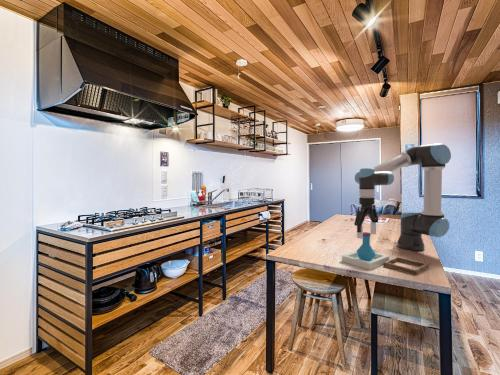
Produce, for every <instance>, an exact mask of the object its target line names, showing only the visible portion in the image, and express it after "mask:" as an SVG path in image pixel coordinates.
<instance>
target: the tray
mask: <svg viewBox="0 0 500 375" xmlns="http://www.w3.org/2000/svg"><path fill="white" fill-rule="evenodd" d="M390 259H391V258H390V255H387V254H384V253H378V252H375V256H374V258H373V259H372V261H369V262H368V261H364V260H360V259H359V257H358V254H357V250H354V251H352V252H349V253H346V254H343V255H341V262H342V263H347V264H349V265H353V266H356V267H360V268H363V269H367V270H371V271H372V270H373V269H375V268H378V267H379V266H382V265H383V266H384V262H386V261H388V260H390Z"/></svg>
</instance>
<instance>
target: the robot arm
mask: <svg viewBox="0 0 500 375" xmlns="http://www.w3.org/2000/svg"><path fill="white" fill-rule="evenodd" d="M451 153H452V152H451V150H450V148H449V147H448V145H446V144H444V143H431V144H430V143H429V144H423V145H417V146H413V147H411V148H408V149H405V150H404V151H402V152H400V153H398V155H397V156H395V157H392V158H391V159H388V160H386V161H384V162H382V163H380V164H377V165H376V166H373V167H369V168H367V167H365V168H360V169H359V171H357V172H356V173H355V174H354V181H355V183H356V184H358V185H359V186H358V188H359V190H358V193H359V195H358V196H359V198H358V199H359V202H358V203H359V205H361V206H358V207H357V213H356V216H355V220H354V226H356V238H357V239H360V240H363V232H364V230H363V229H364V228H363V227H364V226H363V223H364V221H365V219H366V216H368V217H369V219H370V234H371V235H377V223H379V217H378V213H377V209H376V208H377V207H376V203H375V202H376V201H375V199H376V198H375V195H376V194H375V192H376V190H375V186H376V187H377V186H389V185H392V184H393V183H394V180H395V176H394V174H393V173H394V172H395V171H398V170H400V169H402V168H408V167H411V166H417V165H420V168H421V169H422V170H423V210H422V211H404V212H402V213H401V214H400V235H399V237H398V240H397V242H396V246H397V247H398V248H401V249H402V250H403V249H404V250H411V251H424V250H425V248H426V247H425V246H426V245H425V243H424V239H423V236H422V235H426V236H428V237H432V238H433V237H434V238H442V237H444V236H446V234H447V233H448V231H449V229H450V221H449V220H448V219H447V218H446V217H445V213H444V212H443V211H442V192H443V191H442V188H443V187H442V185H443V183H442V180H443V170H444V169H445V168H446V164H448V163H449V162H450V160H451V158H452V154H451Z"/></svg>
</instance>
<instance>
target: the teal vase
mask: <svg viewBox="0 0 500 375" xmlns="http://www.w3.org/2000/svg"><path fill="white" fill-rule="evenodd" d="M371 235H372V234H371V232H367V231H366V232H364V231H363V239H362V244H361V245H360V246H359V248H358V249H356V251H357V254H358V257H359V259H360V260H364V261H368V262H369V261H372V259H373V258H374V256H375V253H376V251H375V250H374V249H373V248H372V246H371V244H370V243H371Z"/></svg>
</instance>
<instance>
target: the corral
mask: <svg viewBox="0 0 500 375" xmlns="http://www.w3.org/2000/svg"><path fill="white" fill-rule="evenodd" d="M397 262H399V263H400V262H401V263H404V264H408V265H412V266H417V268H415V269H413V268H409V267H406V266H403V265H398V264H395V263H397ZM383 267H386V268H389V269H392V270H395V271H396V270H397V271H400V272H403V273H407V274H410V275H413V276H417V275H418V274H420V273H422V272H424V271H426V270H427V269H429V263H425V262H420V261H417V260H412V259H408V258H404V257H401V256H396V257H393V258H390V260H388V261H386V262H384V264H383Z"/></svg>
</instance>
